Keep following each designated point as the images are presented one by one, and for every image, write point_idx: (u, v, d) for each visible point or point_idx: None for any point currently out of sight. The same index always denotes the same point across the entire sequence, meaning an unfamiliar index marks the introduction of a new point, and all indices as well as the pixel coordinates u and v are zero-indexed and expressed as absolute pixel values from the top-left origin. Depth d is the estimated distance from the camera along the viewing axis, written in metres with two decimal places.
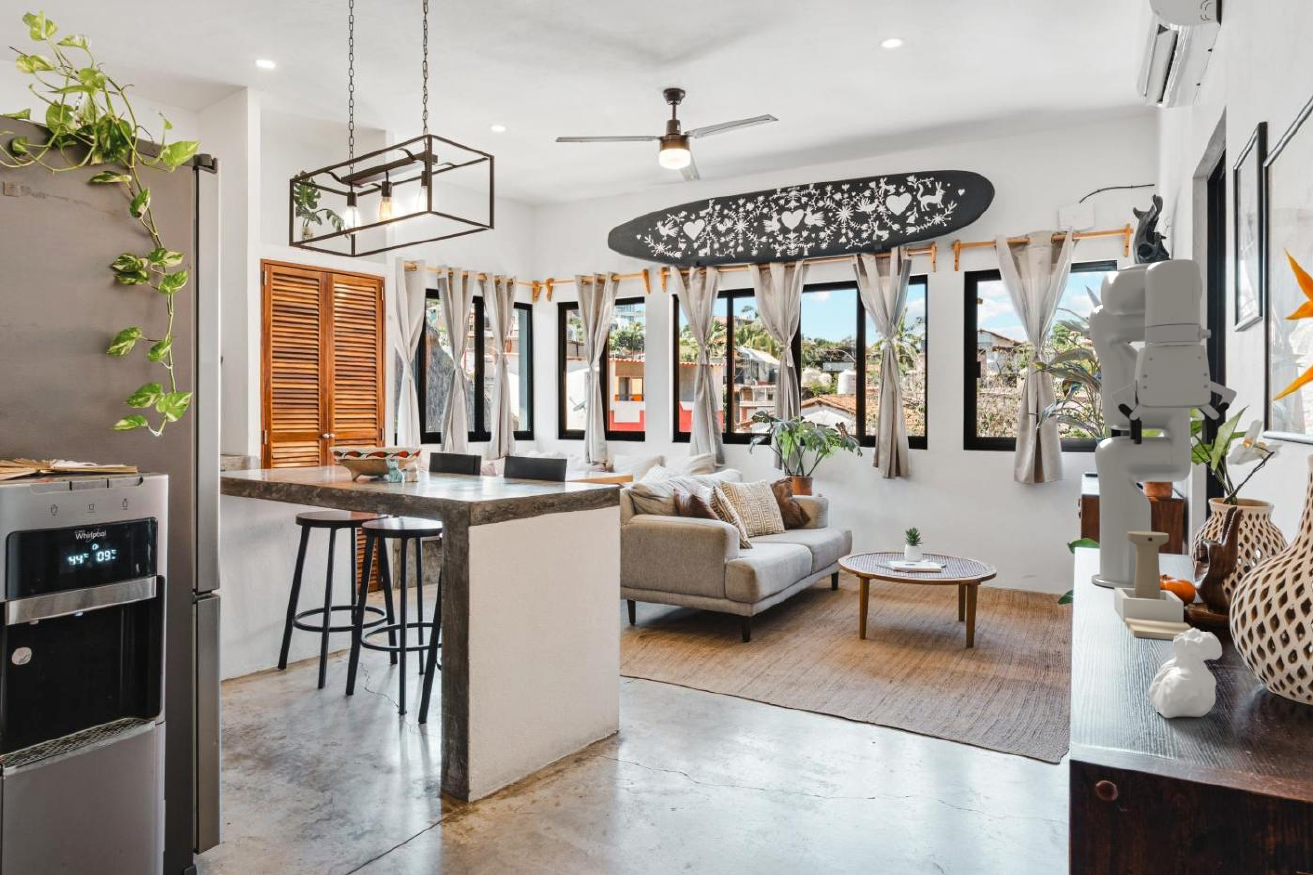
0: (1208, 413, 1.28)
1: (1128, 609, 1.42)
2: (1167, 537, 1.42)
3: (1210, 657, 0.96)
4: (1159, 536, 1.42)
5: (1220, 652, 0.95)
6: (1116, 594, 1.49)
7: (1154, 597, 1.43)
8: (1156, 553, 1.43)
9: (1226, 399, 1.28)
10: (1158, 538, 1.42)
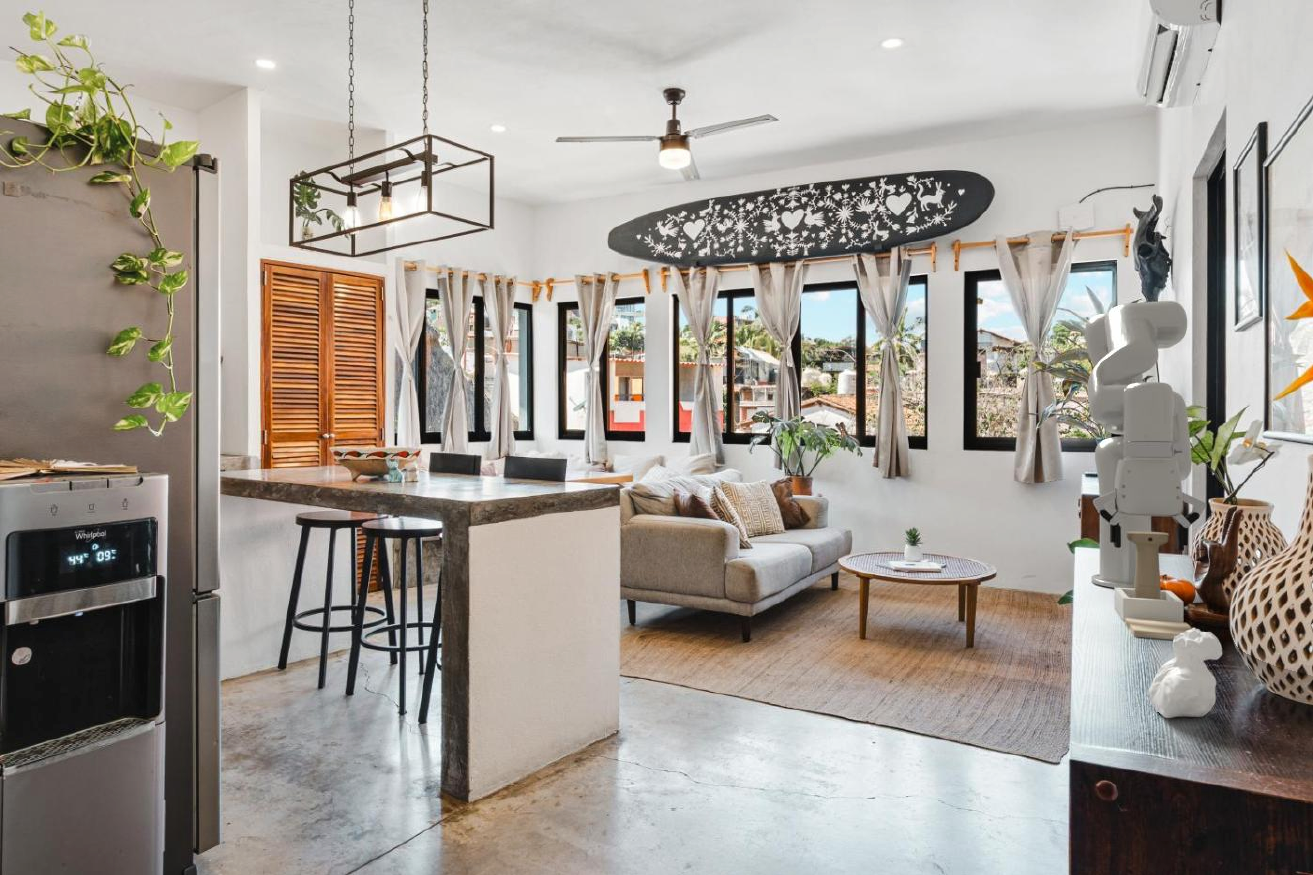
0: (1180, 522, 1.41)
1: (1128, 609, 1.42)
2: (1167, 537, 1.42)
3: (1210, 657, 0.96)
4: (1159, 536, 1.42)
5: (1220, 652, 0.95)
6: (1116, 594, 1.49)
7: (1154, 597, 1.43)
8: (1156, 553, 1.43)
9: (1197, 509, 1.41)
10: (1158, 538, 1.42)
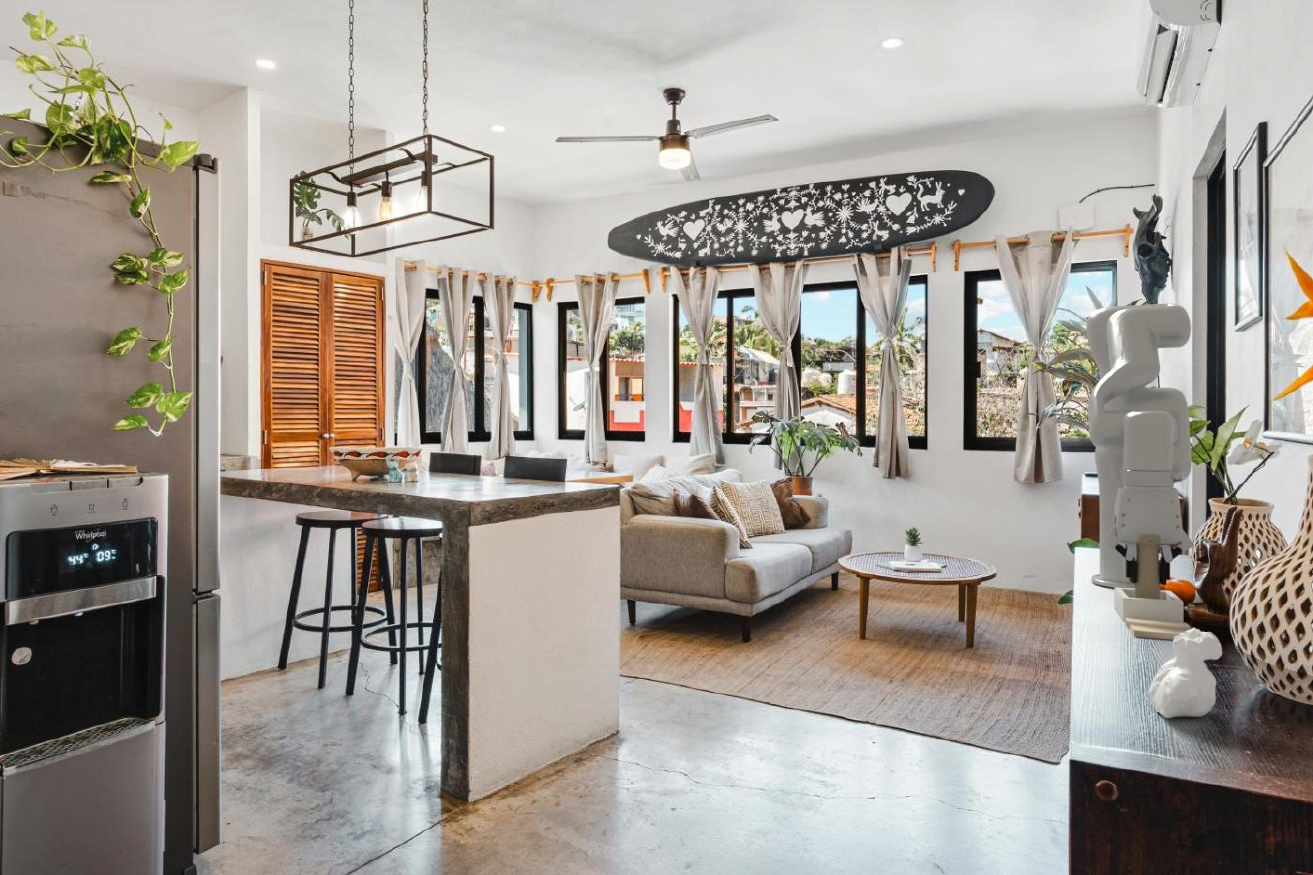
0: (1165, 555, 1.43)
1: (1128, 609, 1.42)
2: None
3: (1210, 657, 0.96)
4: (1159, 536, 1.42)
5: (1220, 652, 0.95)
6: (1116, 594, 1.49)
7: (1154, 597, 1.43)
8: (1156, 553, 1.43)
9: (1182, 546, 1.42)
10: (1158, 538, 1.42)
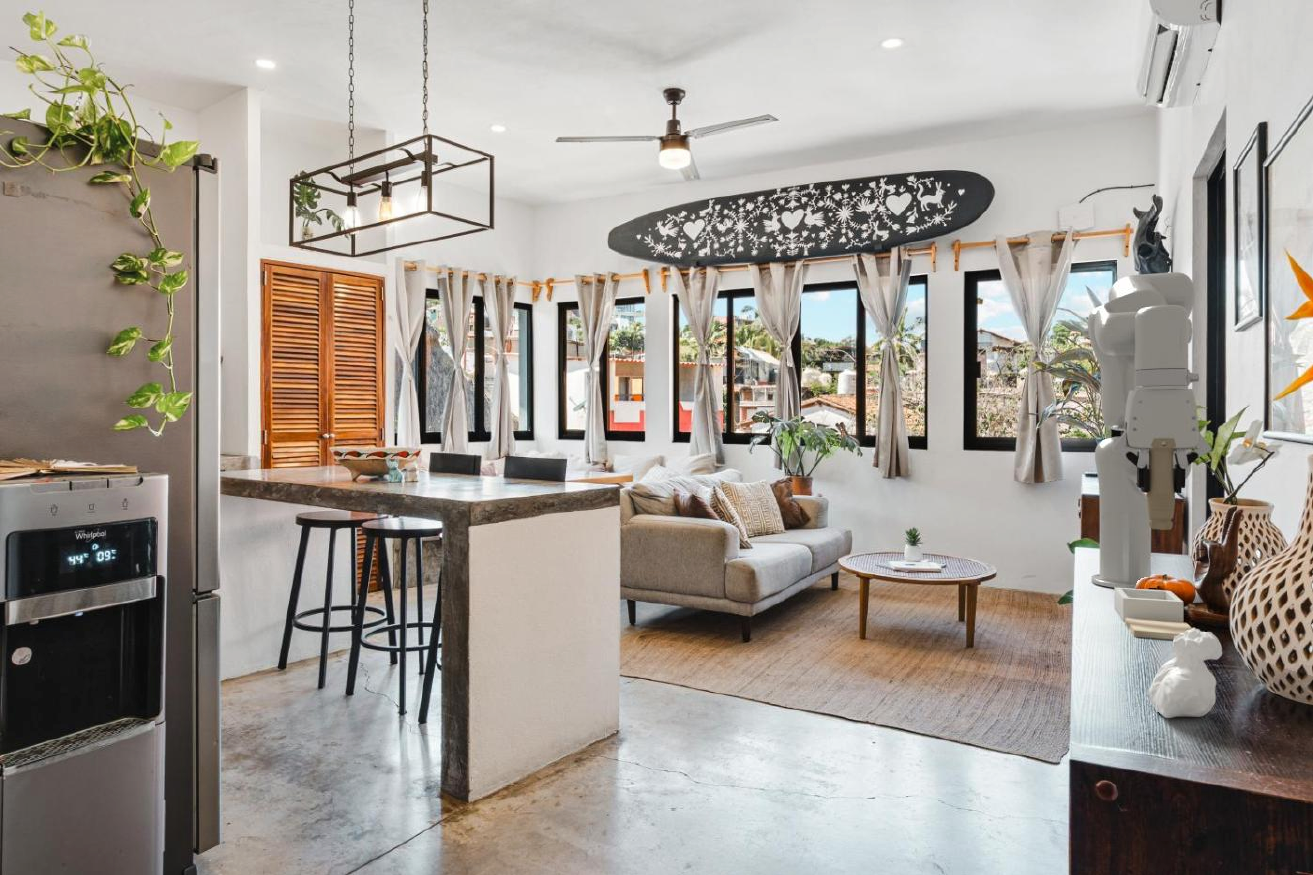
0: (1180, 460, 1.32)
1: (1128, 609, 1.42)
2: None
3: (1210, 657, 0.96)
4: (1174, 440, 1.31)
5: (1220, 652, 0.95)
6: (1116, 594, 1.49)
7: (1169, 506, 1.32)
8: (1170, 459, 1.33)
9: (1198, 451, 1.32)
10: (1172, 442, 1.31)
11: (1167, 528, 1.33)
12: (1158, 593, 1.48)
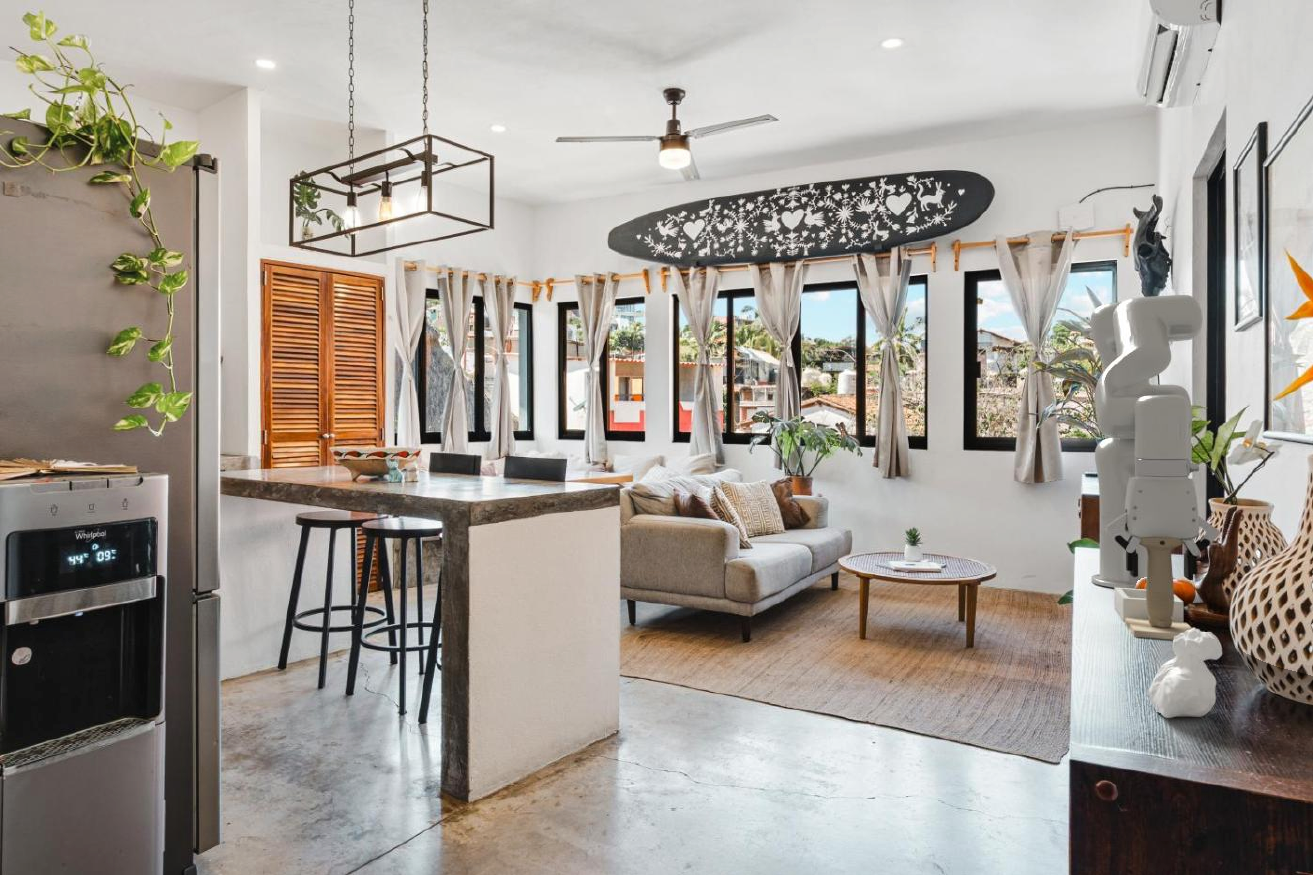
0: (1190, 548, 1.31)
1: (1128, 609, 1.42)
2: (1180, 540, 1.32)
3: (1210, 657, 0.96)
4: (1172, 539, 1.32)
5: (1220, 652, 0.95)
6: (1116, 594, 1.49)
7: (1168, 605, 1.33)
8: (1169, 557, 1.33)
9: (1208, 536, 1.31)
10: (1171, 541, 1.32)
11: (1167, 626, 1.33)
12: None
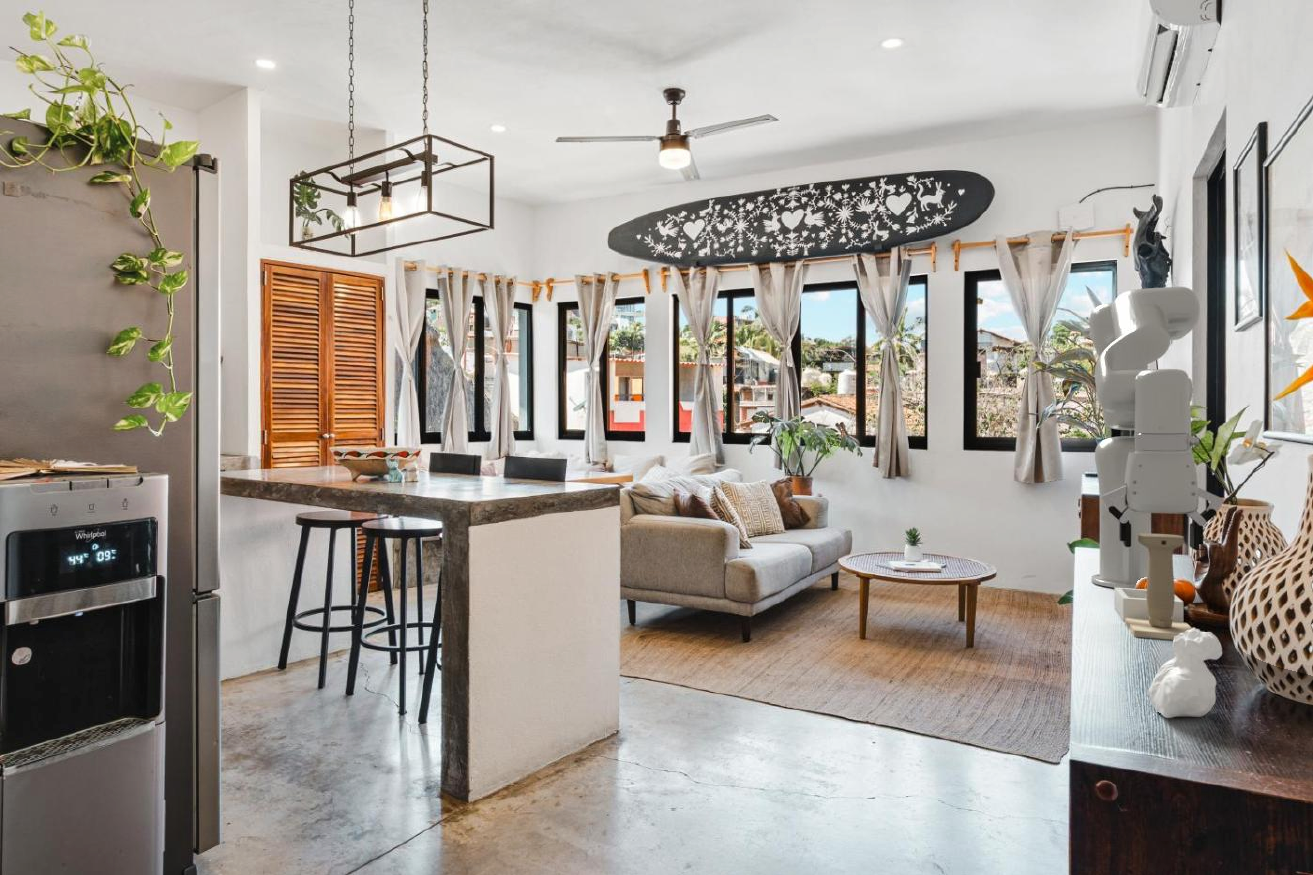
0: (1196, 519, 1.31)
1: (1128, 609, 1.42)
2: (1182, 540, 1.32)
3: (1210, 657, 0.96)
4: (1173, 539, 1.32)
5: (1220, 652, 0.95)
6: (1116, 594, 1.49)
7: (1168, 605, 1.33)
8: (1170, 557, 1.33)
9: (1213, 506, 1.31)
10: (1172, 541, 1.32)
11: (1167, 626, 1.33)
12: None
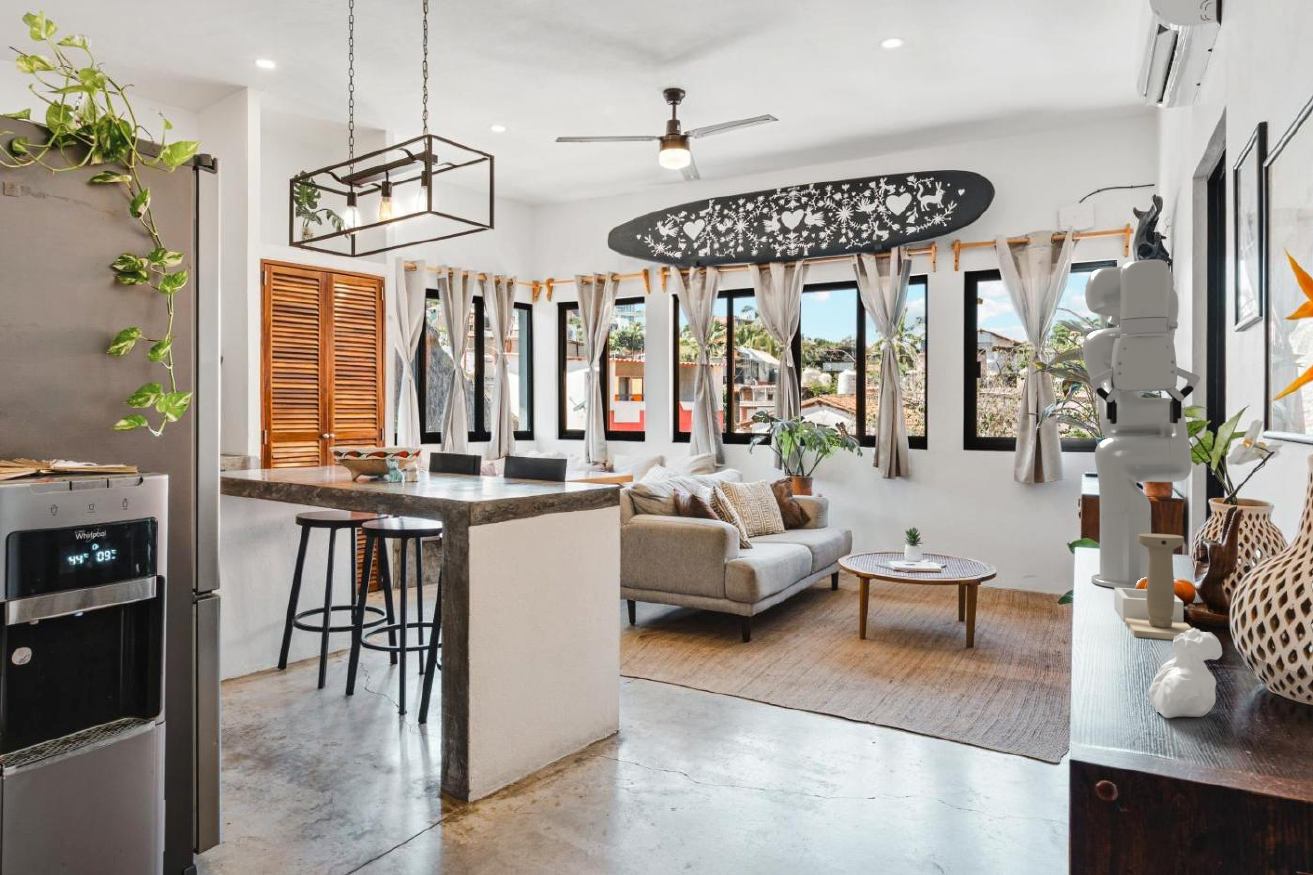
0: (1175, 395, 1.46)
1: (1128, 609, 1.42)
2: (1182, 540, 1.32)
3: (1210, 657, 0.96)
4: (1173, 539, 1.32)
5: (1220, 652, 0.95)
6: (1116, 594, 1.49)
7: (1168, 605, 1.33)
8: (1170, 557, 1.33)
9: (1190, 383, 1.45)
10: (1172, 541, 1.32)
11: (1167, 626, 1.33)
12: None
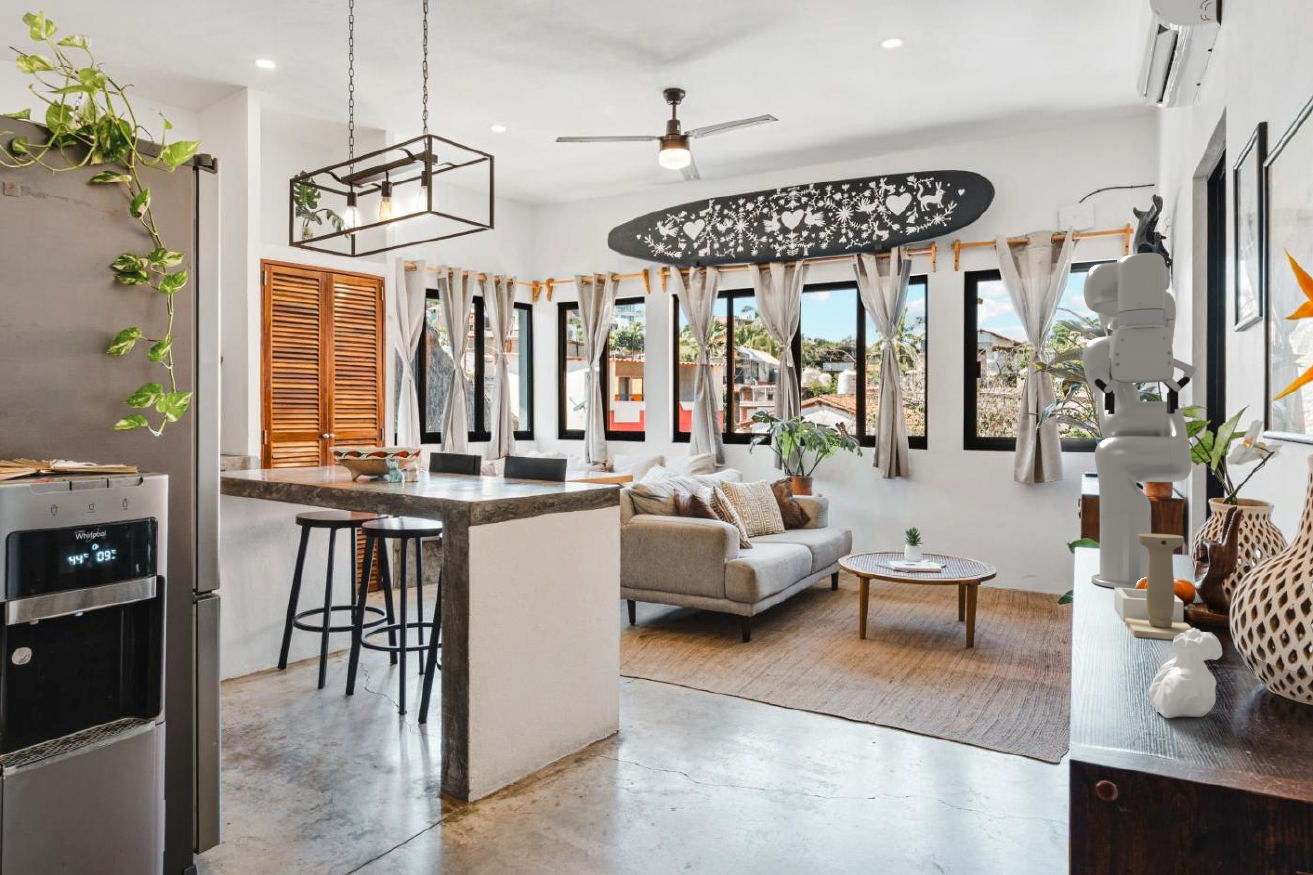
0: (1171, 386, 1.48)
1: (1128, 609, 1.42)
2: (1182, 540, 1.32)
3: (1210, 657, 0.96)
4: (1173, 539, 1.32)
5: (1220, 652, 0.95)
6: (1116, 594, 1.49)
7: (1168, 605, 1.33)
8: (1170, 557, 1.33)
9: (1187, 374, 1.48)
10: (1172, 541, 1.32)
11: (1167, 626, 1.33)
12: None
